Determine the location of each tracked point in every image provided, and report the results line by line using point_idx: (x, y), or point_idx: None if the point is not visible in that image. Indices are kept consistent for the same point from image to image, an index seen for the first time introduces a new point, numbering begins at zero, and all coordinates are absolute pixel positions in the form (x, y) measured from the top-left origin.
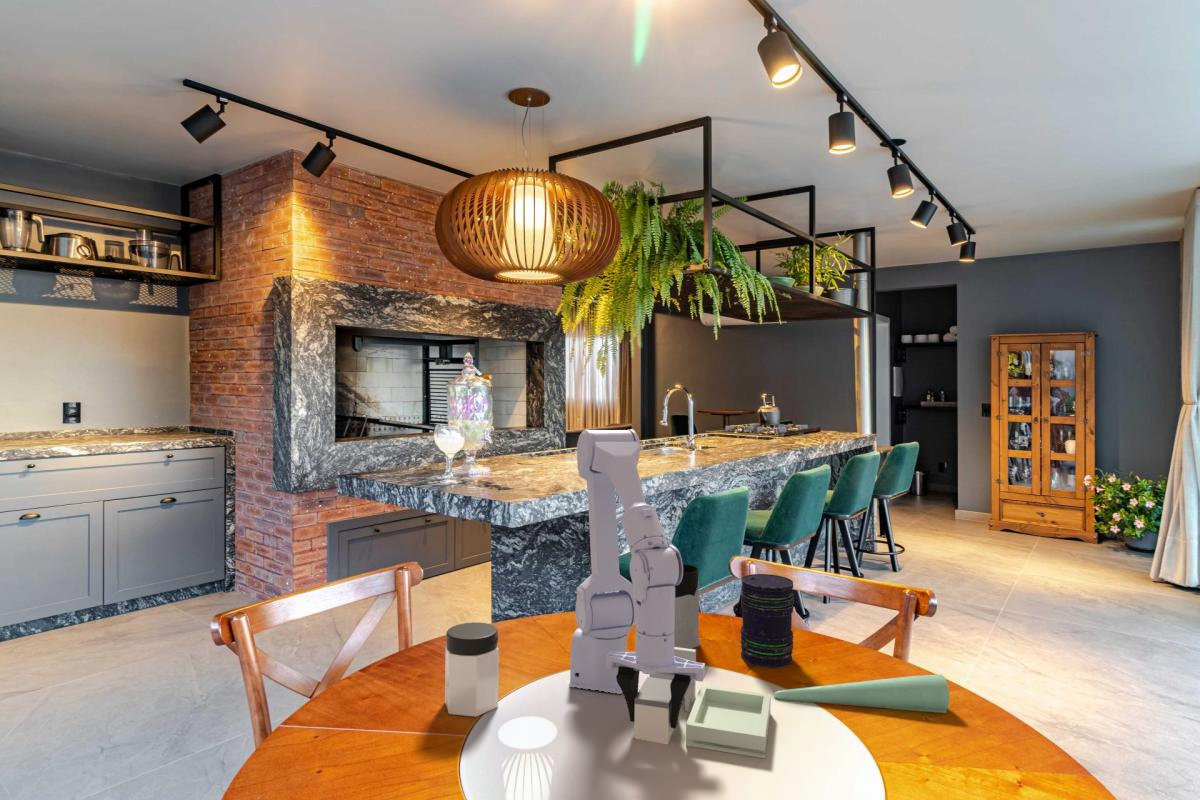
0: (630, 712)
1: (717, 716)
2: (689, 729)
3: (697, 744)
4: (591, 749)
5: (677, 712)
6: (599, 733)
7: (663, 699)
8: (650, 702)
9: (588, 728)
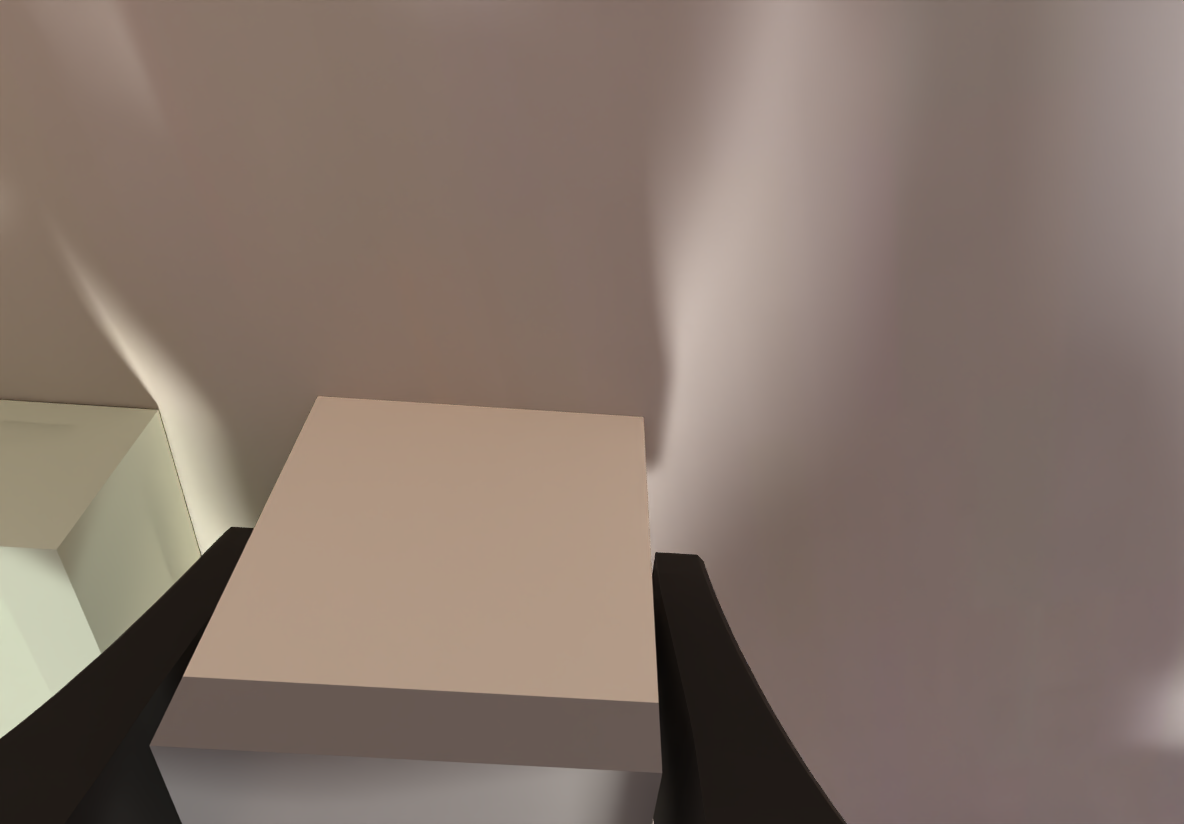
0: (707, 618)
1: None
2: (43, 512)
3: (31, 417)
4: (1090, 122)
5: (103, 655)
6: (983, 428)
7: (263, 803)
8: (428, 734)
9: (1088, 481)
